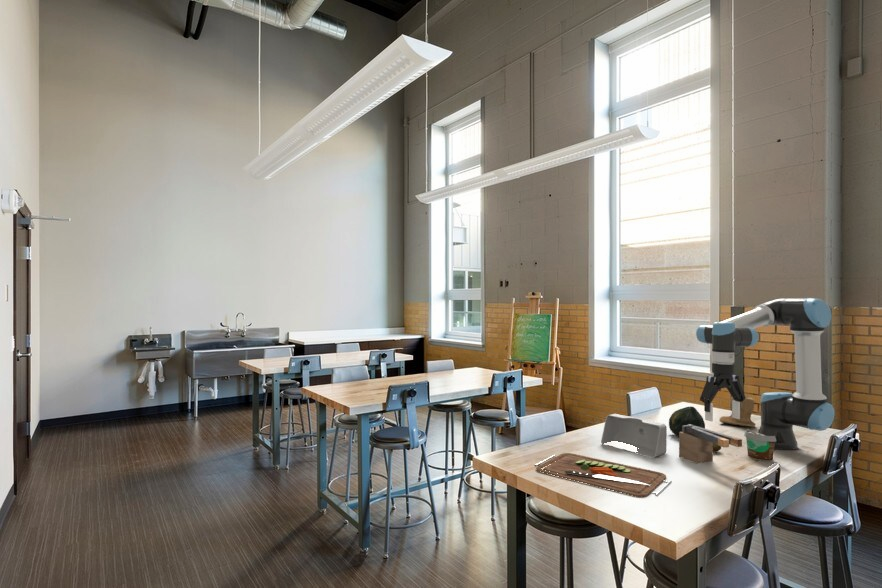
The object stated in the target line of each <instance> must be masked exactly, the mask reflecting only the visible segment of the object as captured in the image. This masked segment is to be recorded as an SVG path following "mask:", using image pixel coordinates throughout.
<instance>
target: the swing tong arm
mask: <svg viewBox="0 0 882 588" xmlns="http://www.w3.org/2000/svg"><path fill="white" fill-rule="evenodd" d="M686 432H687V433H690V434H692V435H695V436H697V437H700V438H702V439H705V440H707V441H709V442H712V443H714V444H717V445H719V446H721V448H730V444H729V440H728V439H725V438H722V437H719V436H716V435H714V434H711V433H709V432H706V431H703V430H701V429H698V428H695V427H693V425H691V424H688V426H686Z"/></svg>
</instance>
